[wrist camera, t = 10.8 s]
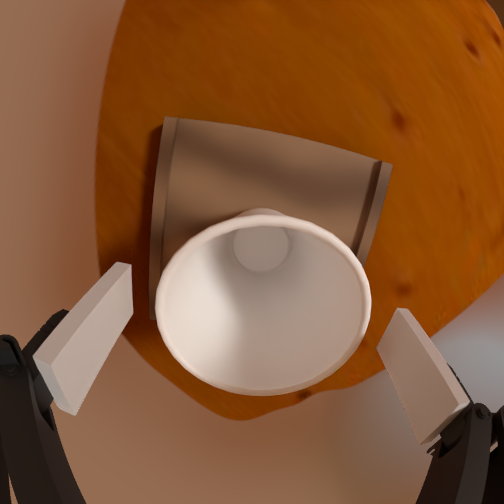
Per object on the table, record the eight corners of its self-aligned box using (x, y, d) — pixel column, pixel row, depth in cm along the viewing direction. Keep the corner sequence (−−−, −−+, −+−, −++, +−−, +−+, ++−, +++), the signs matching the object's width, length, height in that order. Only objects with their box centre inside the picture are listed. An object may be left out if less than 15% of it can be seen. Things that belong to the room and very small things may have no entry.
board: (172, 119, 20) (164, 116, 18) (381, 162, 21) (392, 164, 19) (155, 307, 26) (149, 319, 24) (326, 334, 27) (331, 347, 25)
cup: (186, 277, 23) (143, 365, 13) (221, 164, 20) (183, 178, 9) (293, 311, 24) (311, 408, 14) (340, 209, 21) (409, 264, 10)
